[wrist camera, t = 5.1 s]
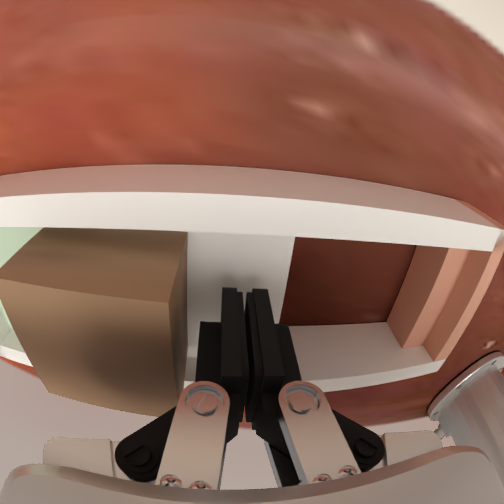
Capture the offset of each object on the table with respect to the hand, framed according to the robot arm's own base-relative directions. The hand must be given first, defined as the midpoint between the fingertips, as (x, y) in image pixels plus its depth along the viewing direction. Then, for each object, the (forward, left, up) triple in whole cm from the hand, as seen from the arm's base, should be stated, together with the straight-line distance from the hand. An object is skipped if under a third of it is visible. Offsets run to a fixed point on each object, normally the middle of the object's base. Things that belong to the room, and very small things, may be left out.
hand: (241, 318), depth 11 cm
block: (0, +5, -1) cm, 5 cm away
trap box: (0, +1, -4) cm, 4 cm away
